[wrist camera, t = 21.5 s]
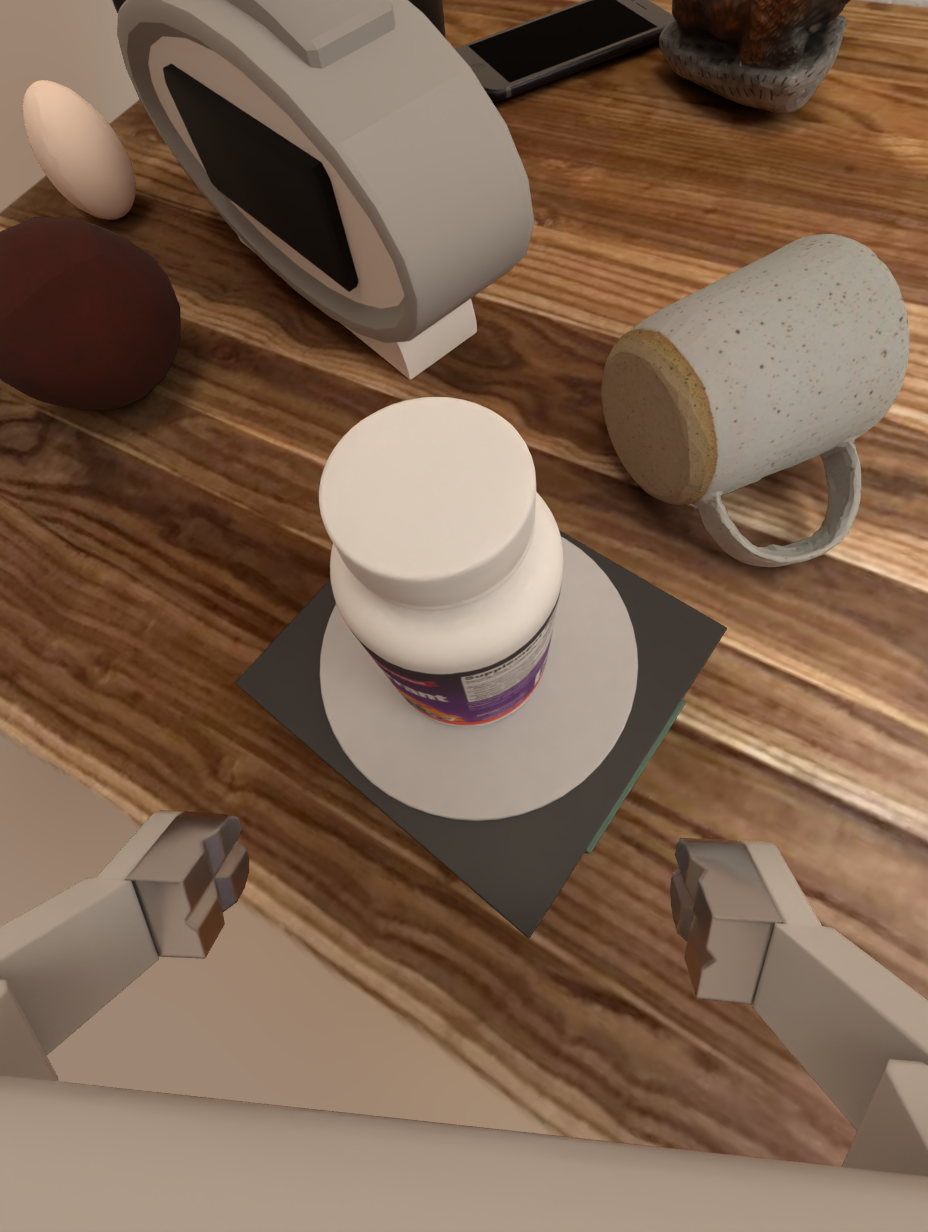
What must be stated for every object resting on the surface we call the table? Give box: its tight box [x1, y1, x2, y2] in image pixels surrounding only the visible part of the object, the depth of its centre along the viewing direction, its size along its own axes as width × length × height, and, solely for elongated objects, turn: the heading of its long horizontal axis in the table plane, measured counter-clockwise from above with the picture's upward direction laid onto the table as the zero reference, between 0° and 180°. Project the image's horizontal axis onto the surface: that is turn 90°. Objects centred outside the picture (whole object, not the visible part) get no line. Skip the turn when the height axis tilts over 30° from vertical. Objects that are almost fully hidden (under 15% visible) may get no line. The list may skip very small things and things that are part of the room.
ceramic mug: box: [602, 234, 910, 567], centre depth 20 cm, size 11×8×8 cm
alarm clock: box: [117, 0, 534, 380], centre depth 25 cm, size 23×6×13 cm, turn 42°
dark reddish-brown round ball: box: [0, 217, 180, 411], centre depth 26 cm, size 8×9×8 cm
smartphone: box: [455, 0, 675, 101], centre depth 38 cm, size 7×15×1 cm, turn 116°
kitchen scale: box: [236, 531, 727, 938], centre depth 20 cm, size 13×12×3 cm
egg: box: [23, 80, 136, 219], centre depth 32 cm, size 5×5×7 cm
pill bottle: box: [319, 397, 564, 727], centre depth 14 cm, size 5×5×10 cm
